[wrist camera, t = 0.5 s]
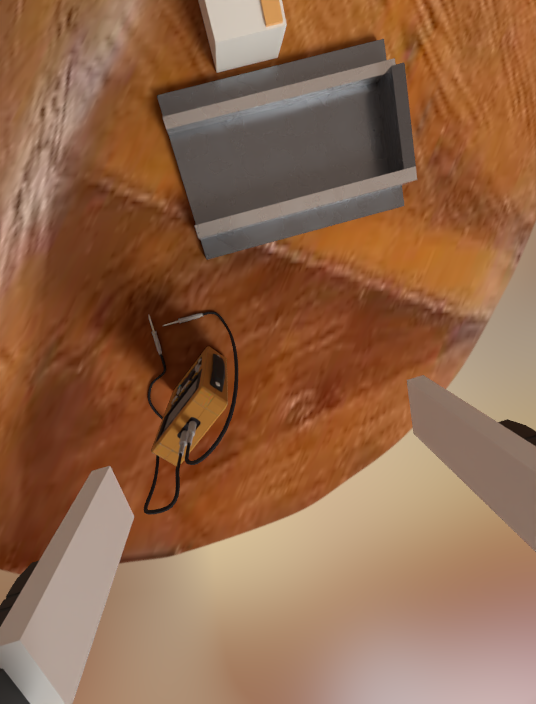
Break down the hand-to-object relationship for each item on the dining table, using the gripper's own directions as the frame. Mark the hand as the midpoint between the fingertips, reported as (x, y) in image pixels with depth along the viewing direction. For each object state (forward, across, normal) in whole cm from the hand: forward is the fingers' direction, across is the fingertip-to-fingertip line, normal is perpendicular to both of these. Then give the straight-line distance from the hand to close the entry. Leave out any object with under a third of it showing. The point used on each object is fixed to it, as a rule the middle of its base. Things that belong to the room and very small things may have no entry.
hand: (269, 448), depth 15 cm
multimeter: (+26, -8, -2) cm, 27 cm away
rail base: (+26, +9, +15) cm, 31 cm away
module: (+26, +7, +27) cm, 39 cm away
